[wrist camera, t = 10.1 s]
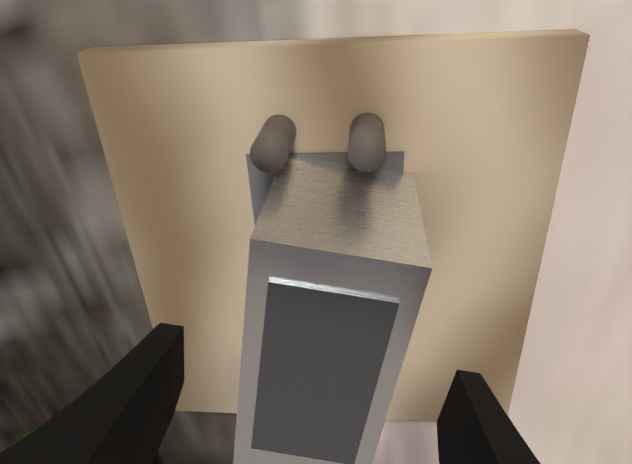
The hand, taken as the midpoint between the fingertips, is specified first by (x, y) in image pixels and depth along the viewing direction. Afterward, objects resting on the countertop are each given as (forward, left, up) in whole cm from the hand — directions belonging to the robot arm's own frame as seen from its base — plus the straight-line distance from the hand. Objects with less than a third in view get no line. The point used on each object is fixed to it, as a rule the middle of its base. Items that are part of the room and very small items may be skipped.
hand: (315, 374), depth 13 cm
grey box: (0, 0, -5) cm, 5 cm away
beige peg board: (0, 0, -6) cm, 6 cm away
